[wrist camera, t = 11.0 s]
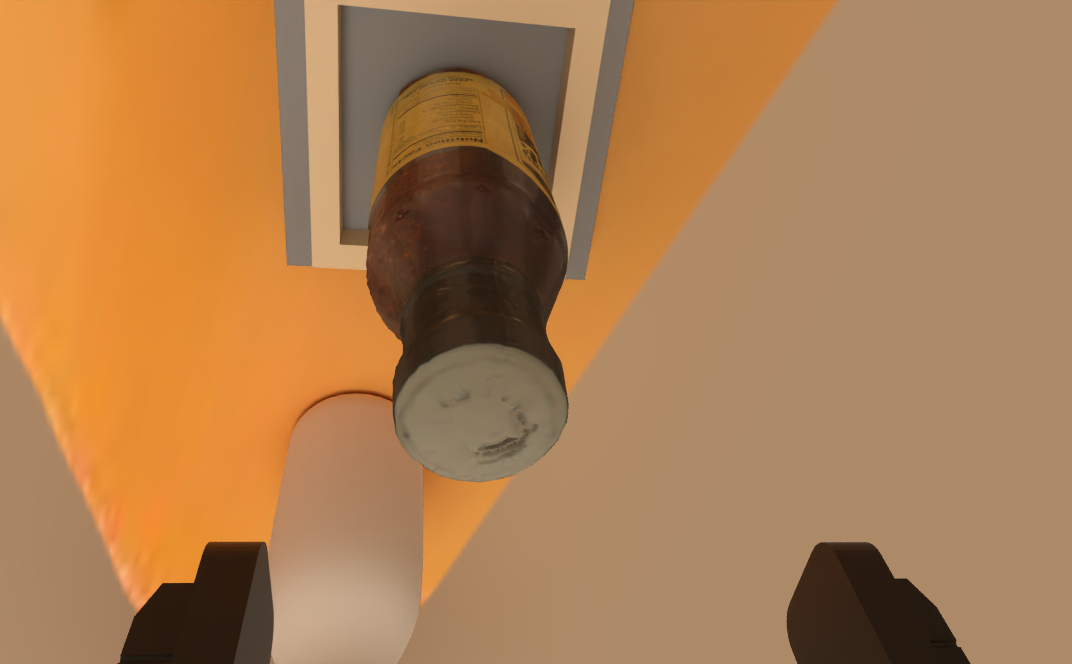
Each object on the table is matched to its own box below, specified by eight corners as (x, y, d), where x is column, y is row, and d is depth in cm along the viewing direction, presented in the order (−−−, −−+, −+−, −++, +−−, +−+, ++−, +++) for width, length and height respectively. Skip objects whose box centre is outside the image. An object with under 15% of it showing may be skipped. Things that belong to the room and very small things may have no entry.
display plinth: (619, -46, 36) (647, -20, 31) (572, 241, 43) (589, 295, 39) (285, -84, 33) (264, -63, 29) (297, 225, 41) (282, 281, 37)
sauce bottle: (517, 204, 37) (590, 538, 21) (378, 193, 36) (341, 536, 20) (538, 59, 34) (645, 326, 18) (384, 41, 33) (345, 309, 16)
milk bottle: (273, 402, 47) (192, 739, 30) (406, 377, 47) (398, 700, 31) (313, 496, 51) (261, 836, 35) (435, 473, 51) (441, 802, 35)
